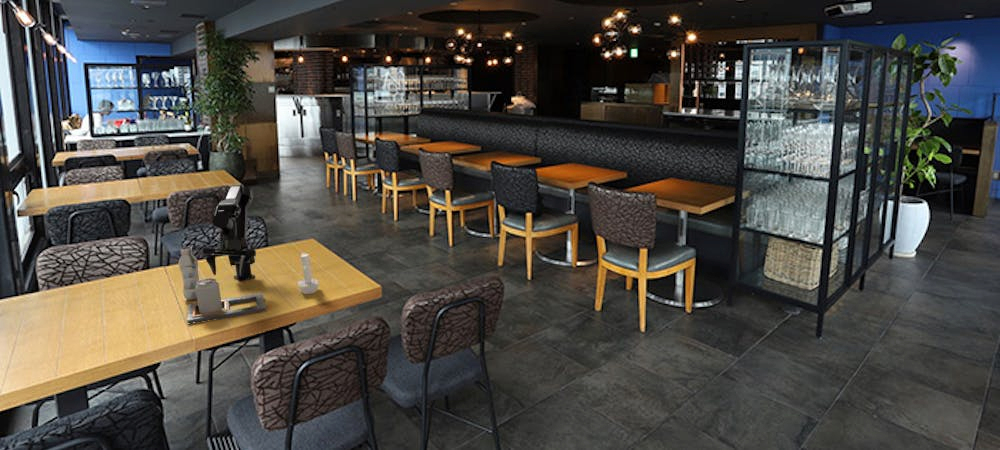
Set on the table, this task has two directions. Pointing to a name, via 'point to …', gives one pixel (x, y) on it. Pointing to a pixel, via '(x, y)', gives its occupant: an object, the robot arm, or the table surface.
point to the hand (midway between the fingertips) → (228, 275)
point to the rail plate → (226, 314)
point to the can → (208, 296)
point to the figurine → (307, 277)
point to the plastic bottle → (189, 273)
